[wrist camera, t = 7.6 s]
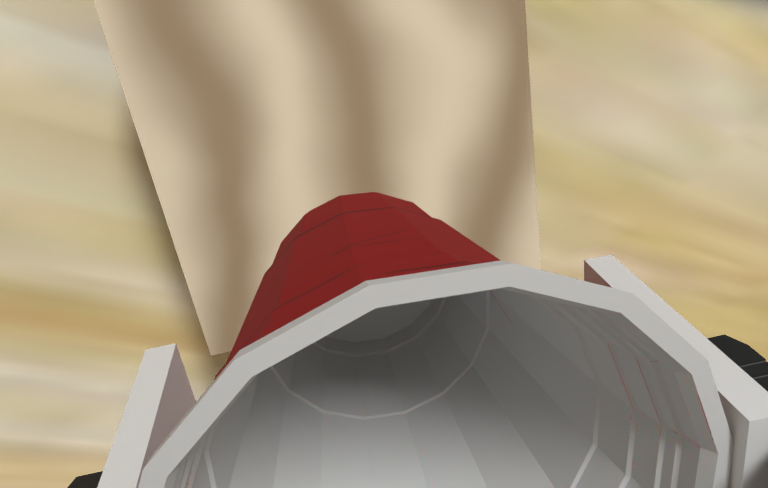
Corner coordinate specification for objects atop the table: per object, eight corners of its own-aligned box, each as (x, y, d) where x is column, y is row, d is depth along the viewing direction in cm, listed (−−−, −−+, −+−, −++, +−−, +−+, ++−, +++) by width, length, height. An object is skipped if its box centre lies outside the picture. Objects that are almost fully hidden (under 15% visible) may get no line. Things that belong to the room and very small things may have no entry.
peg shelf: (222, 289, 40) (210, 355, 33) (128, -17, 32) (89, -13, 25) (498, 230, 41) (541, 282, 34) (470, -77, 34) (519, -87, 27)
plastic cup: (577, 279, 23) (849, 564, 12) (343, 447, 24) (395, 838, 13) (400, 29, 18) (574, 119, 8) (127, 252, 20) (-56, 596, 9)
